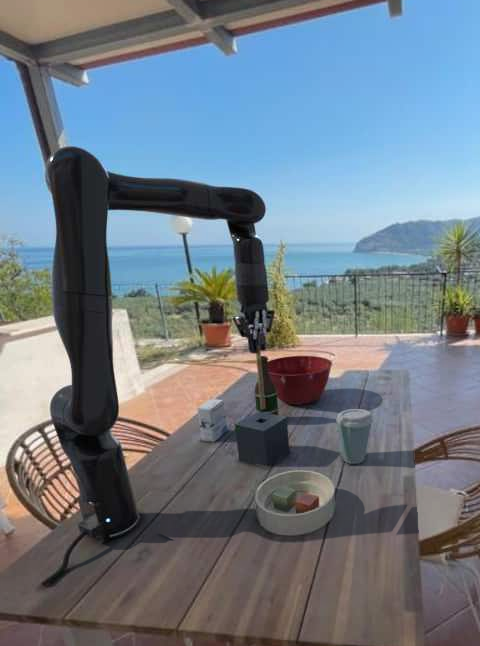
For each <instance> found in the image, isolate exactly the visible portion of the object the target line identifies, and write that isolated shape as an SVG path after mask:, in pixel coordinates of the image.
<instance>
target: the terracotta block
mask: <svg viewBox="0 0 480 646" xmlns="http://www.w3.org/2000/svg"><path fill="white" fill-rule="evenodd" d="M295 507H296V514H299V513H304V512H308V511H311V510H314V509H316V508H318V507H319V496H315V495H312V494H309V493H305V492H304V493H303V494H302V495H301V496H300V497H299V498H298V499H297V500H296V501H295Z"/></svg>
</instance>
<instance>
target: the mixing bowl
mask: <svg viewBox="0 0 480 646" xmlns="http://www.w3.org/2000/svg"><path fill="white" fill-rule="evenodd" d="M332 366H333V361H332V360H330V359H328V358H326V357H322V356H315V355H291V356H283V357H278V358H273V359H271V360H268V368H269V374H270V378H271V379H272V381H273V382H274V384H275V386H276V391H277V400H279V401H281V402H283V403H285V404H287V405H290V406H304V405H309V404H311V403H314V402H315V401H317V400H318V399H319V398H320V397H321V396H322V394H324V391H325V390H326V389H325V388H326V386H327V384H328V381H329V379H330V378H329V377H330V373H331V369H332Z"/></svg>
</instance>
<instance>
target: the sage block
mask: <svg viewBox="0 0 480 646" xmlns="http://www.w3.org/2000/svg"><path fill="white" fill-rule="evenodd" d="M296 500H297V495H296V489H292V488H289V487H286V486H281V487H280V488H279V489H278V490H277V491H276V492H274V493H273V505H274V508H275V509H278V510H281V511H284V512H287V513H288V512H289V511H290V510H291V509H292V508H293V507H294V506H295V501H296Z"/></svg>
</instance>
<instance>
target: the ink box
mask: <svg viewBox="0 0 480 646" xmlns="http://www.w3.org/2000/svg"><path fill="white" fill-rule="evenodd" d="M225 407H226V406H225V400H224V399H215V398H210V399H209V400H208V401H205V403H203V404H201V405H200V406H198V407H197V415H198V422H199V431H200V437H201V441H204V442H213V443H215V442H216V441H217V440H219V439H220V438H221V437H222V436H223V435H225V434H226V433H227V432H228V424H227V417H226V409H225Z"/></svg>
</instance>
